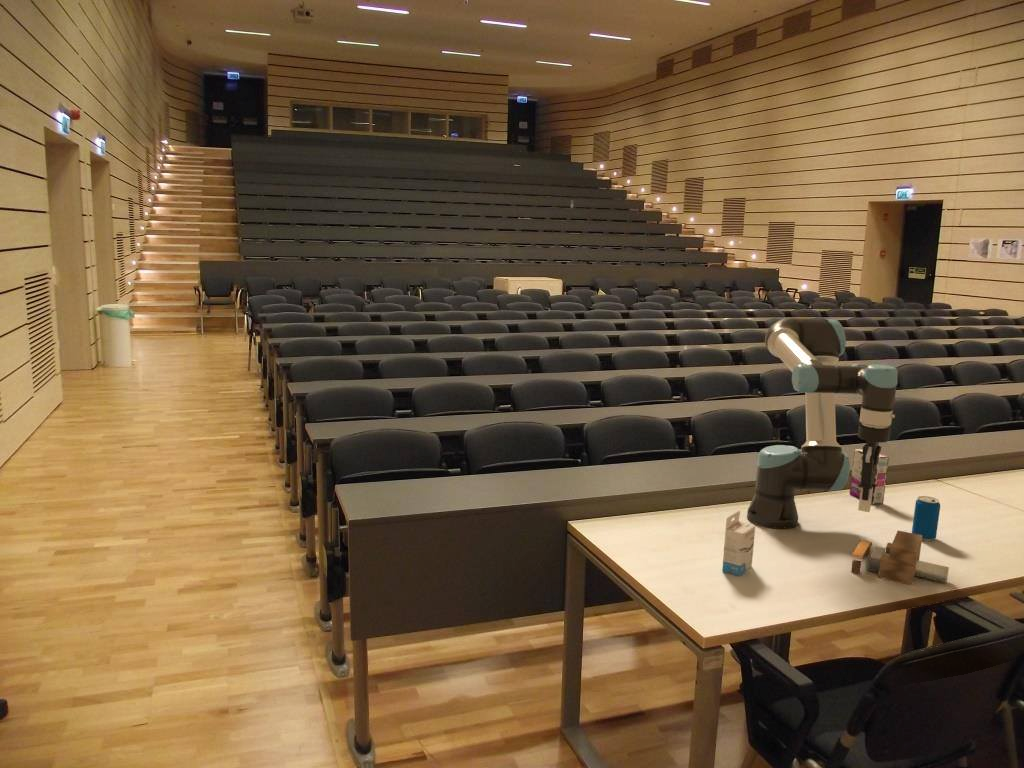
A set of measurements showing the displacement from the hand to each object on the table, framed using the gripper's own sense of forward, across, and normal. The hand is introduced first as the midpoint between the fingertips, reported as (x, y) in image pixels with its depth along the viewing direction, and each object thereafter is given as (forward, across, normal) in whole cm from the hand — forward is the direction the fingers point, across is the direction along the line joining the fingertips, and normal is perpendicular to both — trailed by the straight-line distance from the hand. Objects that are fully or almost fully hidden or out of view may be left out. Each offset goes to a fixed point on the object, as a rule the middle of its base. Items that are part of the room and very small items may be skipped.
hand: (864, 510), depth 207 cm
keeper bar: (+12, +2, 0) cm, 12 cm away
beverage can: (+17, +34, -13) cm, 40 cm away
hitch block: (+16, +3, -7) cm, 17 cm away
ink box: (+16, -22, +26) cm, 38 cm away
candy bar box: (+17, +62, +7) cm, 65 cm away
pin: (+16, +2, -13) cm, 21 cm away
